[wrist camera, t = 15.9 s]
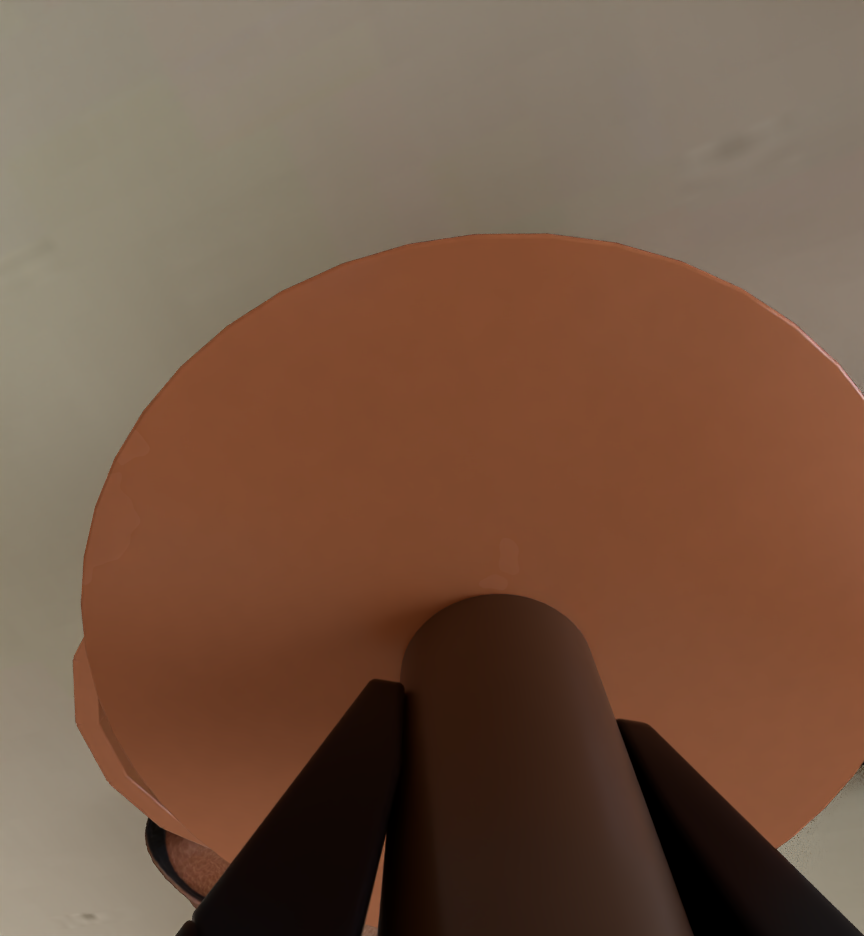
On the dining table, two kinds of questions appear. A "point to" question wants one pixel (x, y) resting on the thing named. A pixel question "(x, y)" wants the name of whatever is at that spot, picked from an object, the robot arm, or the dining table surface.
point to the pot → (115, 750)
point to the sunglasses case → (190, 865)
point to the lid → (493, 569)
